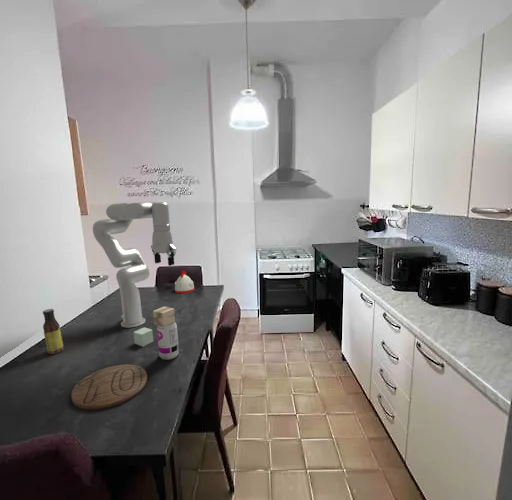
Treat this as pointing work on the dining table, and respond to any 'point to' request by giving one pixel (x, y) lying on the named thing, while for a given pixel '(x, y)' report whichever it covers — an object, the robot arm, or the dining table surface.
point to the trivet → (109, 387)
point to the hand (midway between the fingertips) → (164, 263)
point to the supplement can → (168, 341)
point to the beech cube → (164, 316)
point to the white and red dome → (184, 284)
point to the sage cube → (143, 336)
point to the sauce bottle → (52, 332)
